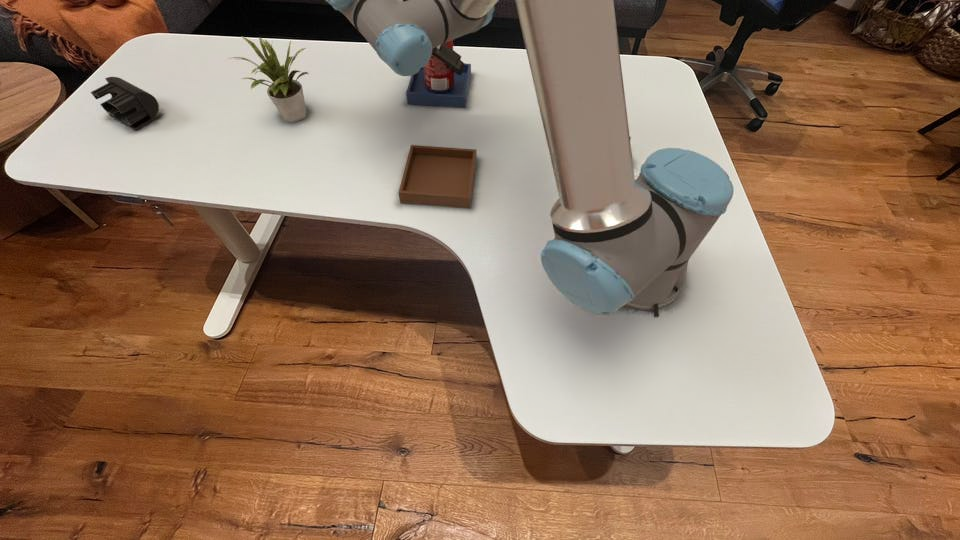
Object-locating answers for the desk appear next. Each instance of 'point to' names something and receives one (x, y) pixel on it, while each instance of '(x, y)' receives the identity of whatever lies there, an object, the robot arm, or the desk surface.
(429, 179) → the walnut tray
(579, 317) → the desk surface
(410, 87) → the blue tray
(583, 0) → the robot arm
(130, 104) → the end cap
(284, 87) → the house plant
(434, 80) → the soda can
